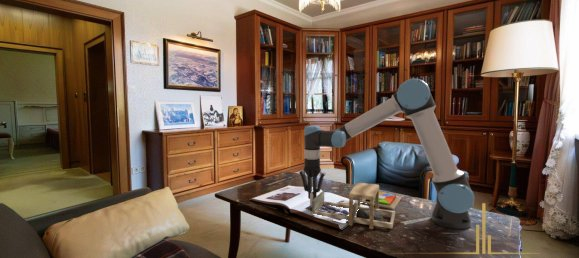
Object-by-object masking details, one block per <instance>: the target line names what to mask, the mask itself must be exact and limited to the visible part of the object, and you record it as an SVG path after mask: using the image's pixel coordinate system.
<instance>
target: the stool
mask: <svg viewBox="0 0 579 258" xmlns="http://www.w3.org/2000/svg"><path fill="white" fill-rule="evenodd" d="M379 192H380V184H376V183H367V182H357V183H355V185H354V186H353V188H352V189H351V190H350V192H349V193H348V195H349V196H348V201H349V202H348V205H349V221H348V226H351V227H352V226H353V225H354V222H353V204H354V199H356V201H358V206H361V203H360V201H361V199H368V200H370V205H369V208H370V225H368V226H369V230H373V229H374V226H373V223H374V208H375V209H380V207H379ZM374 198H375V206H374Z"/></svg>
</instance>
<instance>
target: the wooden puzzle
mask: <svg viewBox="0 0 579 258" xmlns="http://www.w3.org/2000/svg"><path fill="white" fill-rule="evenodd" d="M402 199H403V198H402V197H401V196H397V195H396V194H392V193H386V192H381V191H379V208H382V209H383V208H384V209H386V210H391V211H394V209H396V208H397V206H398V205H399V203H400V201H401V200H402ZM360 202H363V203H367V204H366V205H368V206H370V200H368V199H362V200H361V199H360ZM363 203H362V204H363ZM374 207H375V198H374Z"/></svg>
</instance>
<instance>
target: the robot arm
mask: <svg viewBox="0 0 579 258" xmlns="http://www.w3.org/2000/svg"><path fill="white" fill-rule="evenodd" d="M436 107H437V105H436V103H435V100H434V98H433V96H432V93H431V89H430V86H429V85H428V83H427V82H426V81H424V80H422V79H420V78H410V79H407V80H405V81H403V82H402V83H401V84H400V85H399V86H398V88H397V91H396V92H395V93H393V94H392V95H391V98H388V99H387V100H385V101H383V102H381V103H380V104H378V105H376V106H375V107H372V109H370V110H368V111H366V112H364V113H363V114H360V115H359V116H357V117H355V118H354V119H352V120H350V121H349V122H347V123H345V124H342V125H341V126H339V127H338V128H336V129H332V130H324V129H323V130H322V129H321V126H320V125H307V126H305V127H304V132H303V138H304V141H303V142H304V146H303V147H304V151H303V152H304V156H303V157H304V167H303V169H302V170H300V171H299V175H300V177H301V181H302V185H303V189H304V191H305V192H307V195H308V196H307V197H308V200H309V206H310V207H312V200H313V199H314V198H315V197H317V196H318V194H317V193H320V192H321V189H322V186H323V181H324V177H325V175H326V172H323V171H322V169H321V159H320V158H321V147H326V148H327V147H329V148H336V149H337V148H343V147H345V145H346V142H348V141H349V140H351V139H353V138H354V137H356V136H357V135H360V134H361V133H363V132H366V131H367V130H369V129H371V128H373V127H375V126H377V125H378V124H380V123H382V122H384V121H386V120H388V119H390V118H392V117H394V116H396V115H397V114H400V113H403V114H404V115H405V118H407V119H410V120H411V122H412V124H413V126H414V129H415V131H416V134H417V136H418V139H419V141H420V144H421V147H422V148H423V150H424V153H425V156H426V159H427V162H428V164H429V166H430V168H431V170H432V173H433V176H432V178H431V182H432V184H433V186H434V189H435V191H436V201H435V204H434V207H433V209H432V211H431V214H430V219H431V221H432V222H434V223H435V224H436V225H439V226H442V227H444V228H448V229H454V230H455V229H456V230H457V229H458V230H464V229H469V228H470V227H472V219H471V215H470V213H469V210H471V209H472V208H473V206H474V204H475V193H474V191H473V190H472V188H471V186H470V183H469V179H470V177H469V172H467V171H465V170H460V169H459V168H458V166H457V164H456V161H455V160H454V157H453V154H452V152H451V150H450V147H449V145H448V142H447V140H446V138H445V135H444V133H443V131H442V129H441V125H440V122H439V121H438V119H437V116H436V113H435V112H434V111H435V109H436ZM318 175H319V178H318ZM306 176H307V177H306ZM318 179H319V180H318Z"/></svg>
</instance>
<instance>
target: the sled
mask: <svg viewBox="0 0 579 258" xmlns="http://www.w3.org/2000/svg"><path fill="white" fill-rule="evenodd" d="M323 204H326V205H331V206H336V207H343V208H349V204H345V203H338V202H332V201H325V191H323V190H322V191H320V192H319V193H318V194H317V197H315V198H314V199H313V200H312V206H311V214H312V213H313V214H317V215H322V216H328V217H333V218H339V219H346V220H348V222H349V216H345V215H339V214H337V213H332V212H326V211H321V209H322V208H323V207H322V205H323ZM321 207H322V208H321ZM320 208H321V209H320ZM319 209H320V210H319ZM358 209H370V207H367V206H361V205H360V206H358V201H357V200H355V201H354V202H353V223H355V224H356V223H357V224H362V225H368V226H370V219H364V218H358V217H356V215H355V214H357V213H356V212H357V210H358ZM318 210H319V211H318ZM374 211H376V212H377V213H379V214H380V215H381V216H382V215H383V216H391V217H390V221H389V222H388V221H384V222H383V221H377V220H374V223H373V227H374V226H375V227H379V228H380V227H381V228H385V229H386V228H387V229H391V230H392V229H393V227H394V224H395V223H394V221H395V217H396V211H395V210H390V209H383V208H382V209H381V208H379V209H375V207H374Z"/></svg>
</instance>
